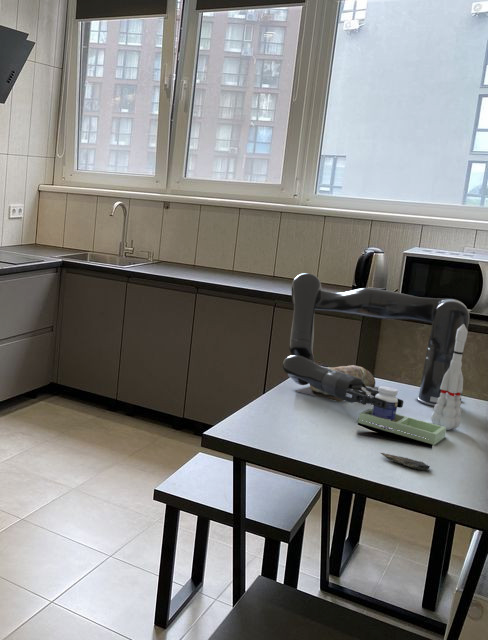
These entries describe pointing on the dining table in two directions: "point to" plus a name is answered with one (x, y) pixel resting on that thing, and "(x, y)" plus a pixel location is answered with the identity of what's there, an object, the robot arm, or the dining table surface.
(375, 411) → the pill bottle
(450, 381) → the rocket model
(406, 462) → the arrowhead
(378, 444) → the dining table surface
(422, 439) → the holder
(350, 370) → the bread loaf
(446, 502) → the dining table surface
